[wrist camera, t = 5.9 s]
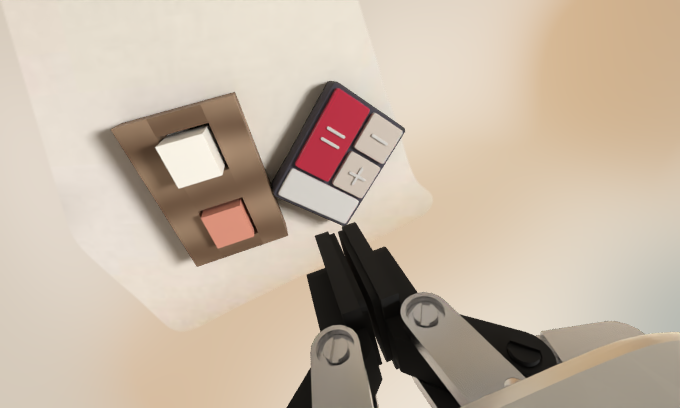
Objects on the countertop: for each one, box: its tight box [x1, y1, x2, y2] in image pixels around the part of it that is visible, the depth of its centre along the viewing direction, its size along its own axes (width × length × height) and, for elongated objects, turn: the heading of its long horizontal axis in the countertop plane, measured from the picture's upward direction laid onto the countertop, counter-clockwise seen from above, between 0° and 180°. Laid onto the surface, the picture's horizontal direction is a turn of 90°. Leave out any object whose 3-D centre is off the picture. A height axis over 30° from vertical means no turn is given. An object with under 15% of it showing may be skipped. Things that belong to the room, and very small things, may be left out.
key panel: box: [111, 92, 288, 267], centre depth 35 cm, size 18×12×3 cm, turn 14°
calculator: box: [271, 81, 405, 226], centre depth 37 cm, size 11×4×15 cm
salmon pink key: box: [201, 197, 254, 248], centre depth 36 cm, size 4×4×4 cm
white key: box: [155, 125, 225, 189], centre depth 31 cm, size 4×4×4 cm
